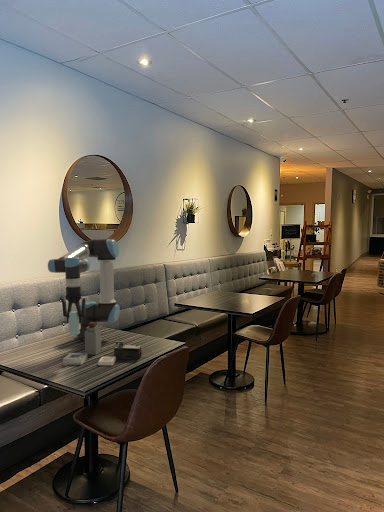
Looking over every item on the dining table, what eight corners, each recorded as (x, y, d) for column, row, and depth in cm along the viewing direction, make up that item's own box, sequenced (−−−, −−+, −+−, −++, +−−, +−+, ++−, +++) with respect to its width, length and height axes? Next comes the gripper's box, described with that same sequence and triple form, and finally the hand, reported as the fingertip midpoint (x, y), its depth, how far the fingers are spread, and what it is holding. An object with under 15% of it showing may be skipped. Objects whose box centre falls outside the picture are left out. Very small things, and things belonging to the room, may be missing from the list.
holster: (102, 361, 217) (102, 356, 217) (115, 361, 217) (115, 356, 217) (98, 366, 210) (98, 361, 210) (112, 366, 210) (112, 361, 209)
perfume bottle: (96, 355, 227) (95, 324, 226) (85, 355, 228) (84, 324, 227) (101, 351, 234) (100, 321, 232) (90, 351, 235) (89, 321, 234)
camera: (143, 356, 224) (142, 339, 224) (138, 361, 217) (138, 343, 216) (117, 355, 227) (117, 338, 226) (112, 359, 220) (112, 342, 219)
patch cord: (81, 352, 233) (81, 350, 233) (82, 352, 233) (82, 350, 233) (73, 359, 221) (73, 357, 221) (75, 359, 221) (75, 357, 221)
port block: (69, 359, 222) (69, 352, 221) (87, 359, 221) (87, 352, 221) (63, 365, 212) (62, 358, 211) (81, 365, 211) (81, 358, 211)
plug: (72, 332, 217) (71, 311, 216) (79, 332, 217) (79, 311, 216) (70, 334, 213) (69, 312, 212) (77, 334, 213) (76, 312, 212)
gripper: (54, 287, 210) (56, 330, 212) (86, 287, 209) (88, 330, 211) (60, 285, 217) (61, 327, 219) (91, 284, 216) (92, 327, 218)
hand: (74, 328), depth 215 cm, fingers closed on plug, 4 cm apart
